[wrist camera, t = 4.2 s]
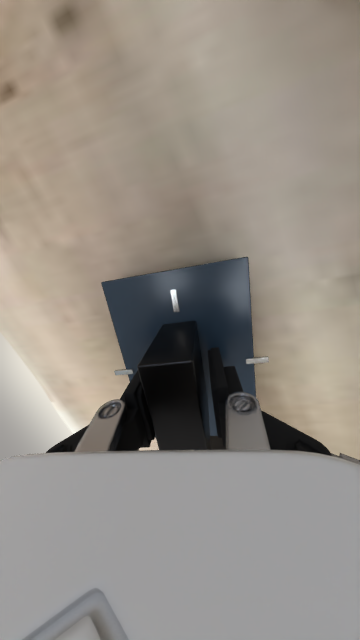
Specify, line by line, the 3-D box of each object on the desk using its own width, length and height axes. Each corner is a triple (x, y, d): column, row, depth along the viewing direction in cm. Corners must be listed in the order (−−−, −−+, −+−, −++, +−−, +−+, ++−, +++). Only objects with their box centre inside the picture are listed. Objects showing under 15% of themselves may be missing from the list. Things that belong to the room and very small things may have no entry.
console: (111, 280, 14) (87, 284, 11) (249, 256, 13) (265, 253, 10) (146, 410, 18) (135, 440, 15) (257, 404, 16) (270, 436, 13)
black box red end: (162, 324, 12) (133, 369, 7) (195, 319, 11) (192, 364, 6) (179, 404, 13) (166, 488, 8) (208, 403, 13) (213, 489, 8)
